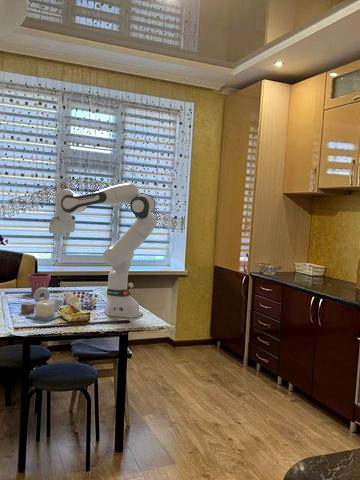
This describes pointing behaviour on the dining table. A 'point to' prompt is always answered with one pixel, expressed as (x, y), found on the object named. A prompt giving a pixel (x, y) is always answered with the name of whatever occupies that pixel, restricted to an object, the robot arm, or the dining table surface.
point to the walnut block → (27, 308)
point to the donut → (39, 291)
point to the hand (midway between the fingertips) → (61, 240)
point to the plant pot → (39, 281)
